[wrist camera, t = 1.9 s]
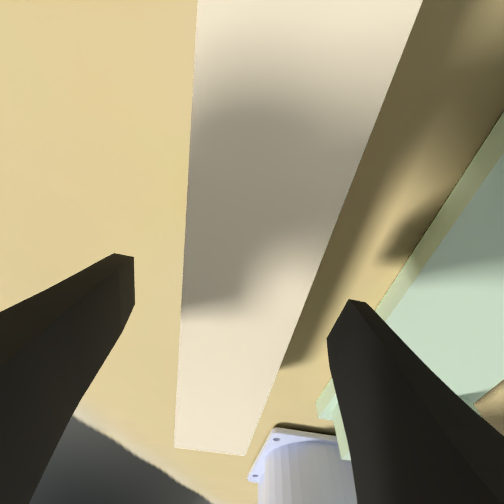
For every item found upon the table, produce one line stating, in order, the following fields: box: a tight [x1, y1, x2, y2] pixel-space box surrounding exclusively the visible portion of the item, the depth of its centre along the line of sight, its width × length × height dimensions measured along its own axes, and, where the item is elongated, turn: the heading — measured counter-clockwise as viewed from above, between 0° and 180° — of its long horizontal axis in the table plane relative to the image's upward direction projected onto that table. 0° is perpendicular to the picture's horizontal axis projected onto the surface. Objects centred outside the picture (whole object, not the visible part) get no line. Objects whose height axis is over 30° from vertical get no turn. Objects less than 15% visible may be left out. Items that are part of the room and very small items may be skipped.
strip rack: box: [315, 112, 504, 461], centre depth 11 cm, size 21×8×4 cm, turn 168°
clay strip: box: [174, 0, 423, 456], centre depth 10 cm, size 18×4×4 cm, turn 170°
